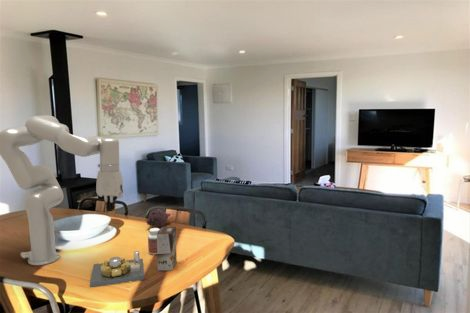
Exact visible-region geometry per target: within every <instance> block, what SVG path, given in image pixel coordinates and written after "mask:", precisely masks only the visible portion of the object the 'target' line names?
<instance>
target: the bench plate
mask: <svg viewBox="0 0 470 313" xmlns="http://www.w3.org/2000/svg"><path fill="white" fill-rule="evenodd" d="M121 258H122V257H119V256H114V257H110V258H109V259H108V261H109V266H110V267H111V269H117V268H120V267H121ZM125 260H126V261H128V262H129V263H132V262H134V259H125ZM103 264H104V262H101V263H93V266H92V271H91V276H90V279H89V288H93V287H95V288H96V287H101V286H102V285H103V286H108V284H110V285H116V284H115V283H117V284H123V283H122V282H125V283H130V282H129V281H132V282H138V281H137V280H140V281H145V280H146V278H145V268H144V259H143V258H140V264H135V265H131V269H130V270H129V271H128V272H126V273H125V274H121V275H120V276H114V277H112V276H110V277H108V276H103V275H101V266H102V265H103Z"/></svg>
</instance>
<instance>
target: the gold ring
mask: <svg viewBox="0 0 470 313" xmlns="http://www.w3.org/2000/svg"><path fill="white" fill-rule="evenodd" d="M120 258H121V267H120V268H117V269H111V267H110V266H109V260H104V261H103V263H104V264H103V265H102V266H101V275H103V276H108V277H110V276H112V277H114V276H120V275H121V274H125V273H126V272H128V271H129V270H130V269H131V265H135V264H140V259H141V258H140V251H139V250H136V251H133V260H134V262H132V263H129V262H128V261H126V260H127V259H126V258H125V257H124V258H123V257H120Z"/></svg>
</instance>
